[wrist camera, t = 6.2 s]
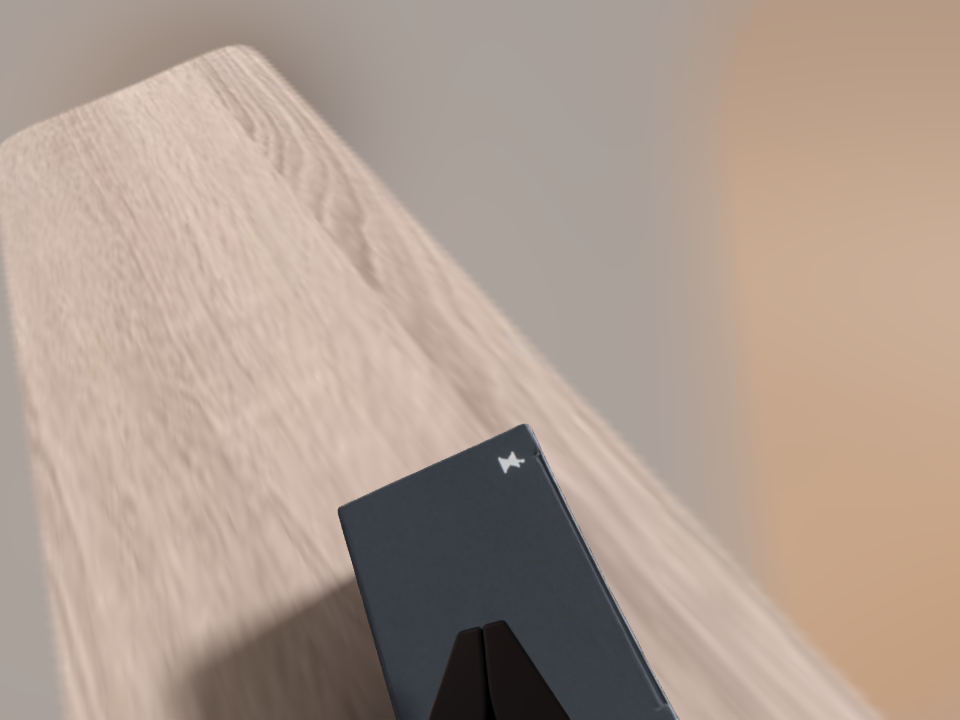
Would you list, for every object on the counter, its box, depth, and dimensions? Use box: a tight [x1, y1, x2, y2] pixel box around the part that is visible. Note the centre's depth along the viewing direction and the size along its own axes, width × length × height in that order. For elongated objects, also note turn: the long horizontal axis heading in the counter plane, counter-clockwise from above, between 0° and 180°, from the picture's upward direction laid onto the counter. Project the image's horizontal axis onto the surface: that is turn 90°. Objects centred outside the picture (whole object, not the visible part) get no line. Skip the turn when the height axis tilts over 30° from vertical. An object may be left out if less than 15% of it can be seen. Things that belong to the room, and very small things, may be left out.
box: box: [338, 424, 679, 720], centre depth 15 cm, size 8×6×11 cm
